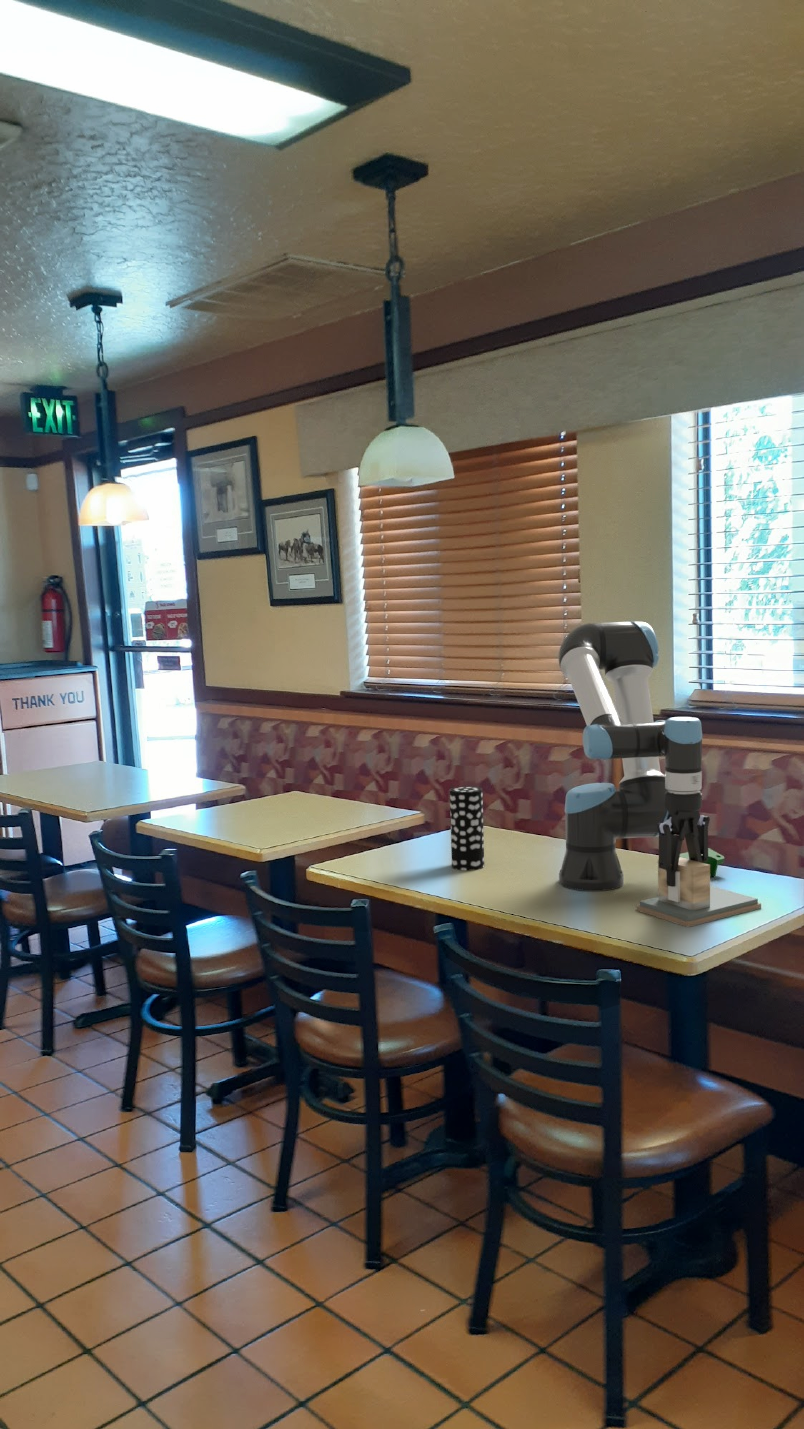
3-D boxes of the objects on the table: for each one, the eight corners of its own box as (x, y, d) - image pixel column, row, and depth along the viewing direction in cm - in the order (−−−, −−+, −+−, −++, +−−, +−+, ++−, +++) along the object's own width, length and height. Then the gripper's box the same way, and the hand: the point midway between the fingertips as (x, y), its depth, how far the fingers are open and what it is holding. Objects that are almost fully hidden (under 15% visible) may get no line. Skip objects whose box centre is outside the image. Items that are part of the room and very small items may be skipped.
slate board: (636, 910, 232) (636, 901, 232) (707, 892, 243) (707, 884, 243) (688, 927, 219) (688, 917, 219) (761, 907, 230) (761, 898, 230)
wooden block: (658, 900, 232) (658, 859, 231) (674, 896, 234) (674, 855, 233) (693, 910, 223) (693, 868, 222) (710, 906, 226) (710, 864, 225)
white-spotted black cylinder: (479, 871, 268) (477, 792, 266) (447, 869, 271) (445, 791, 269) (487, 863, 276) (486, 786, 274) (456, 861, 279) (454, 786, 277)
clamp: (693, 898, 255) (689, 869, 250) (674, 887, 259) (670, 858, 255) (728, 872, 259) (725, 843, 255) (709, 862, 264) (706, 833, 259)
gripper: (665, 798, 218) (666, 909, 221) (726, 787, 228) (726, 894, 230) (639, 793, 224) (640, 901, 227) (699, 783, 234) (700, 887, 236)
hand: (683, 897), depth 229 cm, fingers closed on wooden block, 5 cm apart
